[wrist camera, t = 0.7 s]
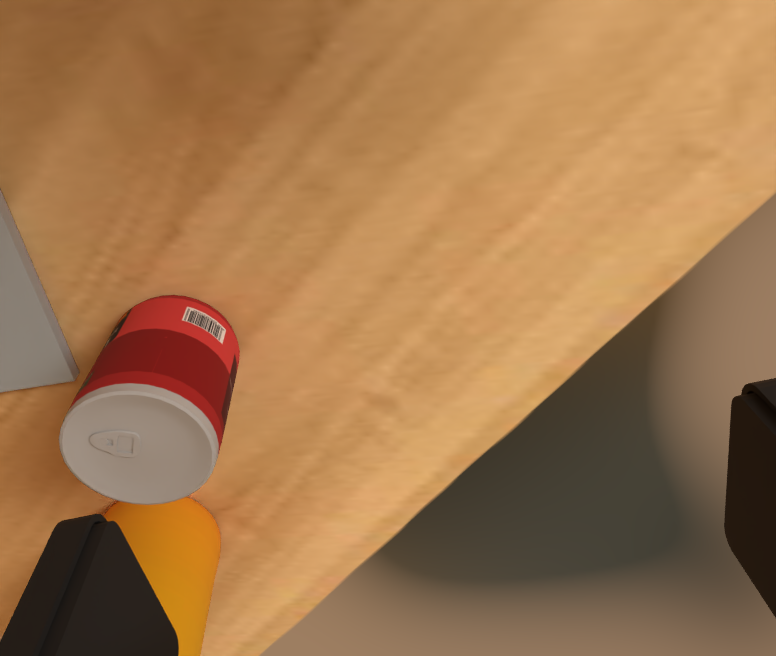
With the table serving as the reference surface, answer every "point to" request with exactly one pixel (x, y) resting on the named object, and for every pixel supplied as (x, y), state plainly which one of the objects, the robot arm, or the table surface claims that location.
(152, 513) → the beer bottle
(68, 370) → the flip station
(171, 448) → the canned food
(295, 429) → the table surface
